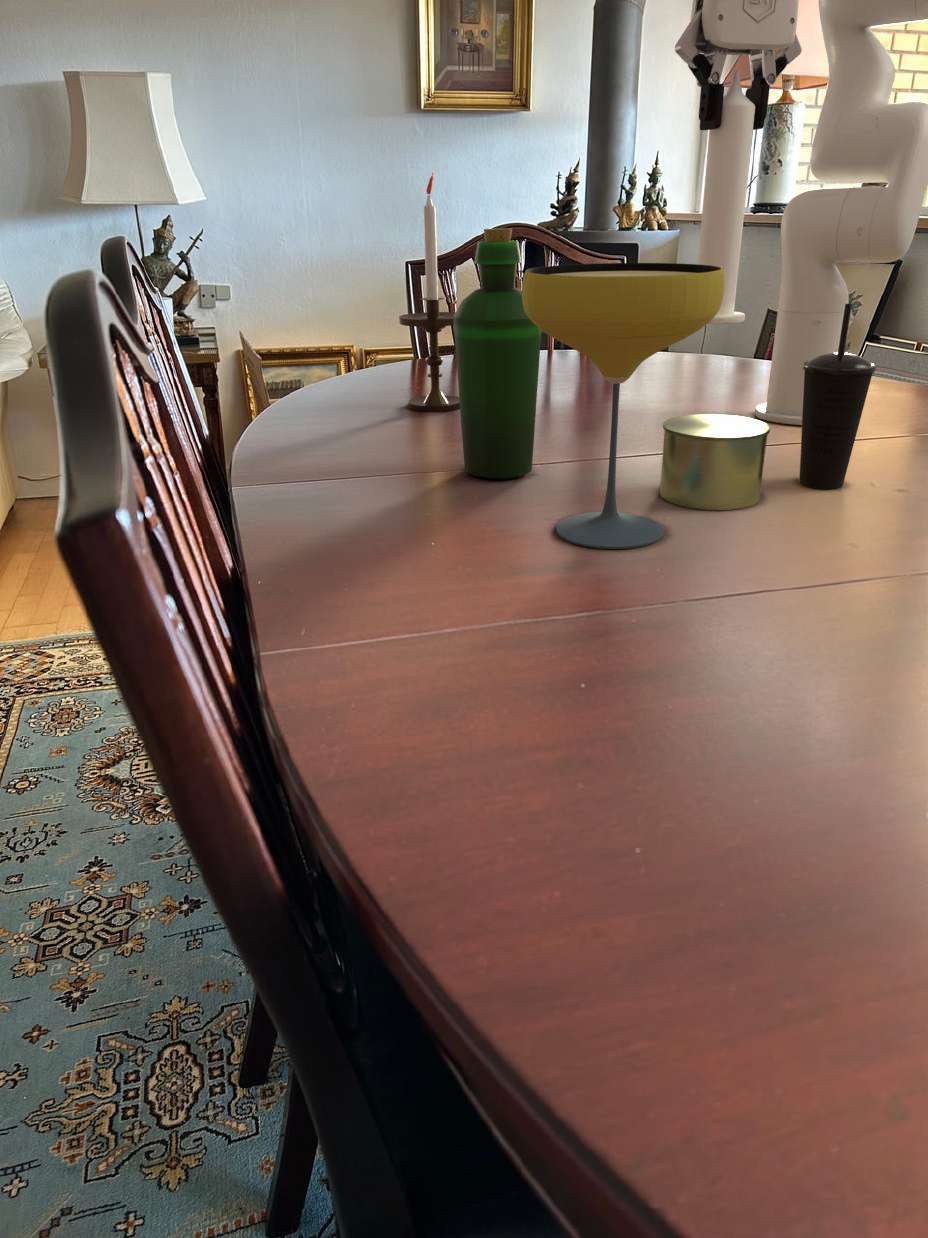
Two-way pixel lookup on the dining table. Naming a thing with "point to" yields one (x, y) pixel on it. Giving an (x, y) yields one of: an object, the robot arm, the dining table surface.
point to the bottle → (497, 366)
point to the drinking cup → (832, 412)
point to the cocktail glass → (619, 349)
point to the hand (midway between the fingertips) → (731, 127)
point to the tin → (713, 461)
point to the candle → (727, 195)
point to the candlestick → (431, 318)
